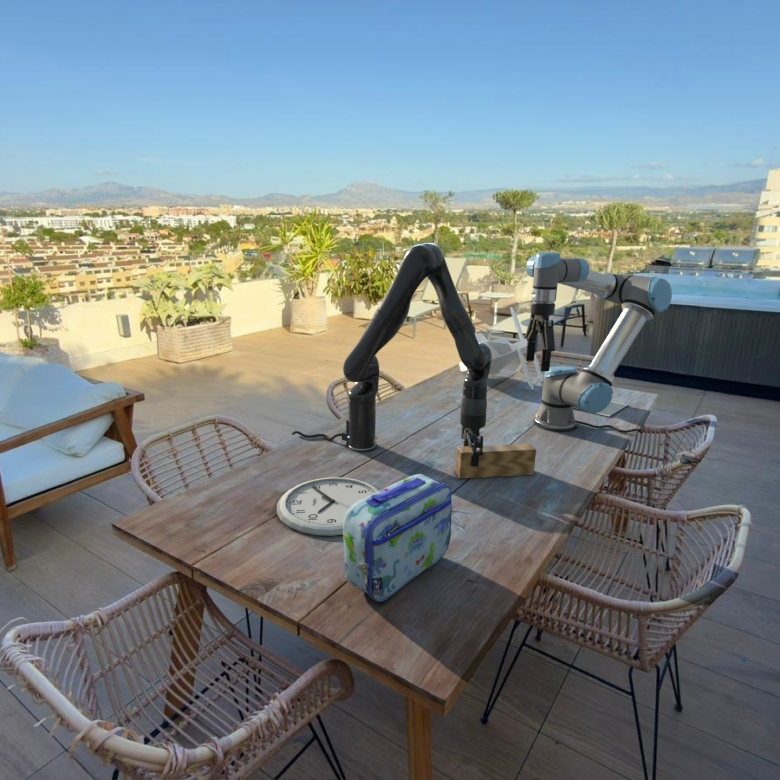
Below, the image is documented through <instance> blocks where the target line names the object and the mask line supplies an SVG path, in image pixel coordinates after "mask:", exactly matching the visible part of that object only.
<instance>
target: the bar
mask: <svg viewBox="0 0 780 780" xmlns="http://www.w3.org/2000/svg"><path fill="white" fill-rule="evenodd" d="M473 449H474V448H473ZM476 451H477V449H476ZM536 455H537V449H536V448H535V447H534V445H532V444H531V443H515V444H514V443H512V444H491V445H490V444H488V445H483V454H482V455H481V456H479V465H478V466H475V467H472V466H471V448H469V446H464V447H463V446H457V447H456V461H455V462H456V464H455V473H456V475H457V477H458V478H459V479H476V478H478V479H479V478H495V477H497V478H499V477H515V476H532V475H534V474H535V466H536Z"/></svg>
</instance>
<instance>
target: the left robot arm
mask: <svg viewBox="0 0 780 780" xmlns="http://www.w3.org/2000/svg"><path fill="white" fill-rule="evenodd" d="M426 278H427V279H428V281H429V282H430V284H431V285H432V288H433V289H434V291H435V294H436V297H437V300H438V305H439V310H440V314H441V317H442V320H443V321H444V324H445V326H446V327H447V329H448V331H449V333H450V334H451V337H452V338H453V340H454V345H455V348H456V350H457V353H458V356H459V359H460V361H461V362H462V363H463V364H464V365H465V366H466V367H467V368H468V371H467V375H466V377H465V376H464V379H463V382H462V384H463V385H462V397H461V403H460V417H459V418H460V420H459V423H460V425H461V434H460V435H461V436H460V438H461V439H462V443H463V445H462V447H464V446H469V448H471V466H472V467H475V466H478V465H479V456H481V455H482V454H483V446H484V436H483V435H481V432H480V430H481V429H483V428H485V426H486V422H487V410H488V399H487V395H488V381H489V376H490V374H489V371H490V366H491V360H492V354H491V350H490V348H489V347H488V346H487V345H486V344H484V343H478V341H477V338H476V336H475V333H476V326H475V324H474V322H473V320H472V319H471V317H470V315H469V313H468V311H467V309H466V308H465V305H464V303H463V302H462V299H461V297H460V294H459V293H458V291H457V288H456V285H455V283H454V280H453V277H452V276H451V273H450V270H449V267H448V263H447V261H446V257H445V256H444V253H443V251H442V249H441V248H440V247H439V246H438V245H437V244H435V243H432V242H426V243H420V244H415V245H413V246H411V247H410V248H409V249H408V250H407V252H406V253H405V255H404V256H403V260H402V261H401V263H400V266H399V269H398V270H397V273H396V275H395V277H394V279H393V281H392V283H391V285H390V286H389V288H388V289H387V291H386V293H385V294H384V297H383V298H382V299H381V302H380V303H379V304H378V306H377V308H376V310H375V311H374V313H373V315H372V317H371V319H370V321H369V323H368V324H367V326H366V328H365V329H364V331H363V333H362V334H361V337H360V339H359V340H358V341H357V343H356V344H355V345H354V347H353V348H352V350H351V351H350V353H349V354H348V355H347V356H346V358H345V360H344V362H343V366H342V372H343V375H344V378H345V379H346V380H347V381H349V382H352V383H354V384H353V386H352V387H351V388H350V390H348V394H347V395H348V396H347V398H348V399H347V400H348V419H346V421H345V430H344V431H342V432H341V433H336V434H334V435H333V436H332V437H329V436H328V435H327V434H325V433H316V434H305V433H303V432H302V431H300V430H294V431H293V432H291V435H296V434H298V435H299V436H300V437H303V438H305V439H312V438H319V437H323V438H325V439H326V440H327V441H334V440H335V439H336V438H338V437H341V441H344V442H345V443H346V444H345V446H346V447H348V449H350V450H352V451H356V452H368V451H372V450H374V449H375V448H376V445H377V443H376V440H377V438H378V435H376V425H377V423H376V421H377V420H376V417H377V416H376V414H377V411H376V409H377V407H376V405H377V400H376V399H377V394H378V391H379V383H380V382H379V381H380V362H379V359H378V357H377V354H378V353H379V352H380V351H381V350H382V349H383V348H384V347H385V346H386V345H387V344H388V343H390V342H391V341H392V340H393V339H394V337H396V335H397V334H398V333H399V331H400V330H401V328H402V327H403V325H404V324H405V322H406V320H407V318H408V315H409V312H410V308H411V303H412V299H413V296H414V295H415V293H416V291H417V290H418V288H419V287H420V285H421V284H422V282H423V281H424V280H425V279H426ZM473 448H474V449H473ZM476 449H477V451H476Z"/></svg>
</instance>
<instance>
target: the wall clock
mask: <svg viewBox="0 0 780 780" xmlns="http://www.w3.org/2000/svg"><path fill="white" fill-rule="evenodd" d="M380 490H381V489H379V488H377V487H376V486H374V485H372V484H371V483H369V482H365V481H362V480H359V479H355V478H349V477H338V476H337V477H335V476H333V477H332V476H331V477H322V478H317V479H312V480H307V481H305V482H302V483H299V484H297V485H295V486H293V487H292V488H290V489H288V490H287V491H286V492H285V493H284V494H283V495H281V496H280V498H279V499H278V502H277V503H276V515H277V517H278V518H279V520H280V521H281V522H282V523H283V524H285V525H286V526H287V527H288V528H290V529H293V530H295V531H297V532H299V533H303V534H308V535H312V536H327V537H328V536H329V537H331V536H332V537H333V536H343V523H344V518H345V515H346V513H347V511H348V510H349V508H350V507H351V506H352V505H353V504H354V503H356V502H358V501H360V500H362V499H364V498H366V497H368V496H370V495H372V494H374V493H376V492H378V491H380Z"/></svg>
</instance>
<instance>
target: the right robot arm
mask: <svg viewBox="0 0 780 780" xmlns="http://www.w3.org/2000/svg"><path fill="white" fill-rule="evenodd" d="M525 272H526V274H527V275H528V277H531V278H533V279H532V291H530V294H531V303H530V311H529V312H530V317H529V321H528V325H527V329H526V333H525V336H524V339H527V352H526V353H525V362H533V361H534V356H535V354H536V345H537V337H538V335H539V334H540V338H541V343H542V350H541V358H540V359H541V360H540V371H541V372H544V375H543V386H542V392H541V402H540V405H539V407H538V410H537V411H536V413H535V414H534V415H535V416H534V424H535V425H536V426H537V427H539V428H542V429H544V430H549V431H556V432H567V431H572V430H574V429H575V428H576V424H578V425H579V424H580V425H583V426H588V427H591V428H595V429H603V428H608V429H609V428H610V429H613V430H615V431H617V432H619V433H623V434H627V433H633V432H638V433H639V434H644V432H643V431H642V430H641V429H639V428H632V429H627V430H625V429H620V428H618V427H616V426H614V425H611V424H603V425H595V424H591V423H588V422H584V421H579V420H577V419H576V418H575V417H576V416H575V413H574V407H576V408H578V409H577V410H580V411H581V412H586V413H589V414H596V413H597V412H601V411H602V410H604V409H605V408H606V407H607V406H608V405H609V403H610V402H611V401H613V400H612V399H613V394H614V390H613V388H612V387H613V383H614V382H613V381H612V379H613V376H614V374H615V373H616V371H617V369H618V367H619V366H620V364H621V363H622V362H623V359H624V358H625V356H626V354H627V353H628V351H629V349H630V348H631V346H632V345H633V343H634V341H635V339H636V338H637V337H638V335H639V333H640V331H641V330H642V328H643V326H644V325H645V323H646V322H648V321H652V320H653V319H654V317H655V316H656V313H657V314H658V313H663V312H665V311H666V310H668V308H669V306H670V304H671V302H672V297H673V292H672V291H673V290H672V286H671V284H670V282H669V281H668V280H667V279H665V278H663V277H662V278H661V277H658V276H645V275H636V274H635V275H634V274H621V273H619V274H618V273H613V272H608V271H605V272H598V271H595V270H592V269H590V265H589V262H588V261H587V259H584V258H579V257H575V258H574V257H573V258H571V257H570V258H569V257H561V253H559V252H549V251H548V252H538V253H537V254H536V255H534V256H531V257H530V258H529V259H528V260H527V261H526V265H525ZM558 284H560V285H563V286H566V287H570V288H573V289H577V290H580V291H583V292H584V291H585V292H588V293H592V294H594V295H595V296H596V297H597V298H599V299H603V300H606V301H608V302H611V303H614V304H616V305H619V306H620V307H621V309H622V312H620V315H619V316H618V317H617V319H616V322H615V323H614V325H613V326H612V328H611V329H610V331H609V333H608V335H606V336H607V337H606V338H605V339H604V341H603V343H602V344H601V346H600V347H599V349H598V351H597V352H596V354H595V356H594V358H593V359H592V361H591V363H590V364H589V365H588V366H586V367H583V368H581V371H580V372H579V373H578V369H577V367H574V366H566V365H565V366H564V365H559V366H558V365H557V366H551V358H552V352H555V351H556V344H555V343H556V342H555V332H554V323H555V321H554V319H550V316H553V315H555V310H556V303H555V302H556V301H557V293H558V286H559V285H558ZM576 408H575V409H576Z"/></svg>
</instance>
